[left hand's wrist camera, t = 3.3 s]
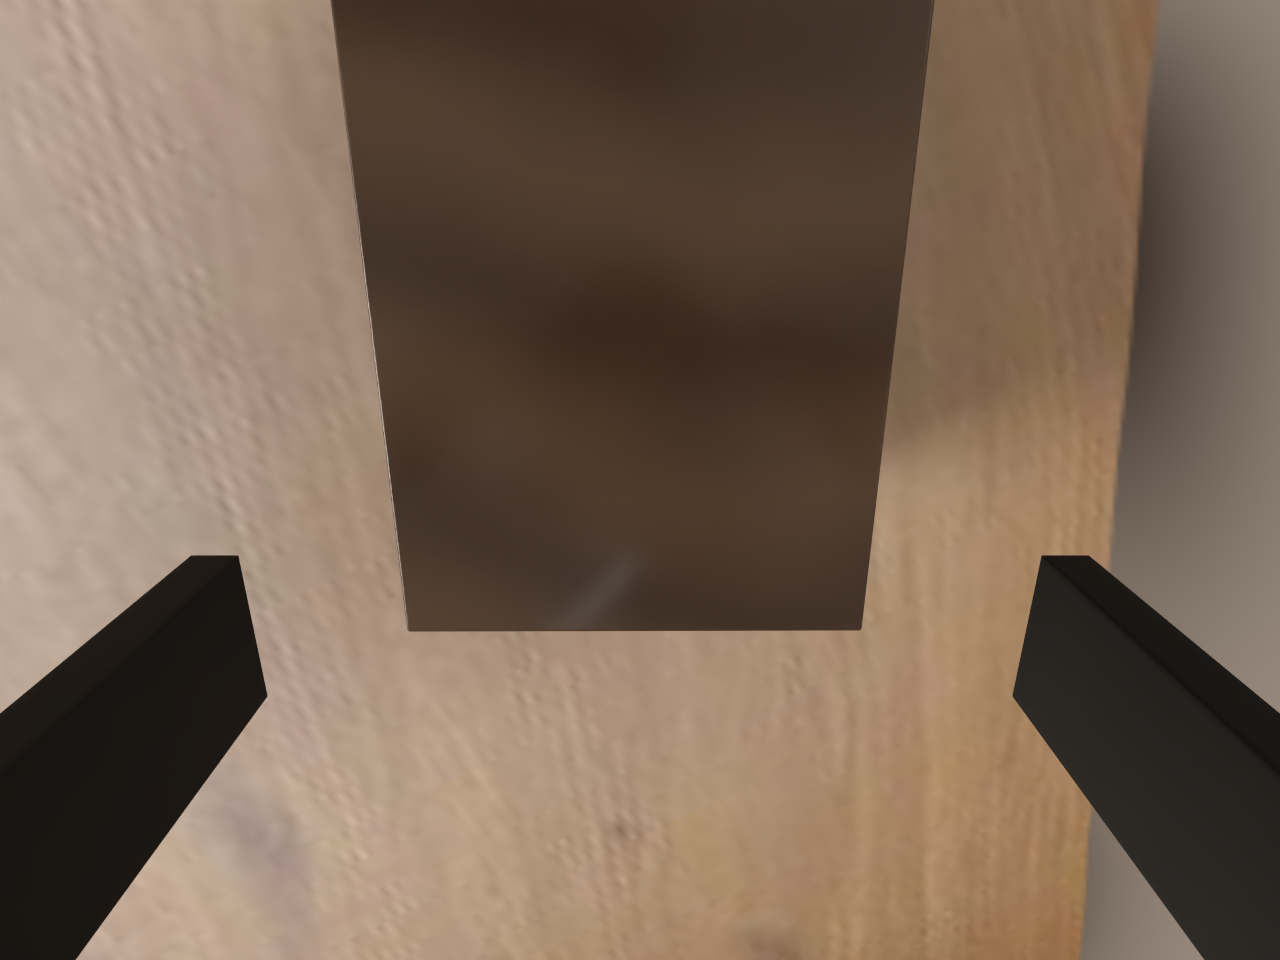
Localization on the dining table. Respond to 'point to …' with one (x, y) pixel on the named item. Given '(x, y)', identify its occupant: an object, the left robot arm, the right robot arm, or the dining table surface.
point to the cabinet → (633, 300)
